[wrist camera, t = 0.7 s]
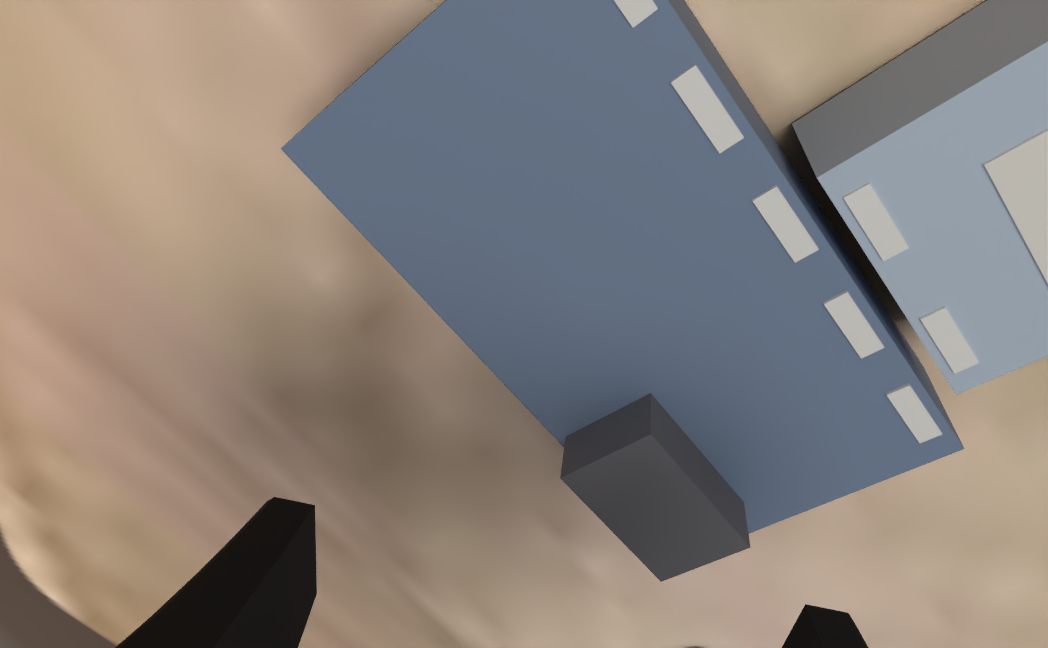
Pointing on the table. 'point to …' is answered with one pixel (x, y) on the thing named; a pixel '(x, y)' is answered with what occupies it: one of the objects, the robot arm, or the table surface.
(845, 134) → the light blue box
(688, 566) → the network switch box
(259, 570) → the robot arm
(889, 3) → the table surface
